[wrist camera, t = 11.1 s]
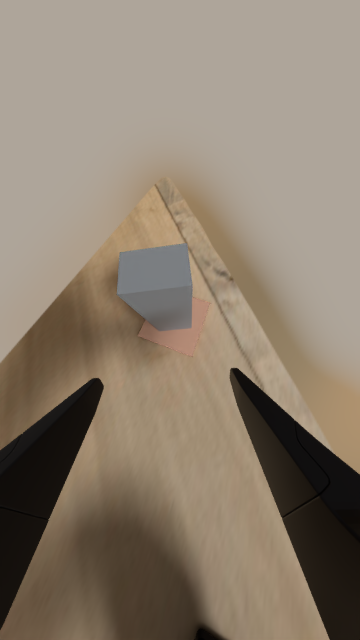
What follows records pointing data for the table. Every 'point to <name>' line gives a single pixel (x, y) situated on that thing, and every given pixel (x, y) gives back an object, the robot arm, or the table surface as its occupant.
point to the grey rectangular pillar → (158, 285)
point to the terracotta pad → (179, 331)
